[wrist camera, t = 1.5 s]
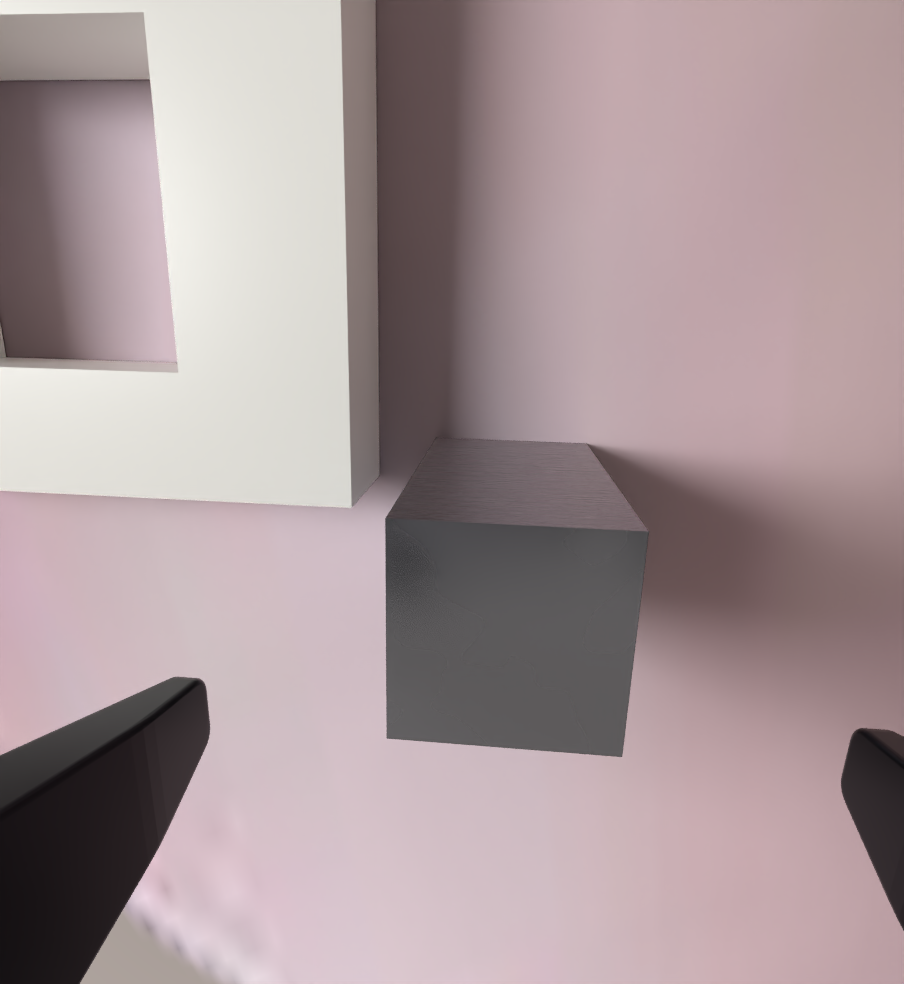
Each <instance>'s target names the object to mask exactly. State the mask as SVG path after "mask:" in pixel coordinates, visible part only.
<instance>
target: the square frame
mask: <svg viewBox="0 0 904 984" xmlns="http://www.w3.org/2000/svg"><path fill="white" fill-rule="evenodd" d="M138 79H150V84H151V94H152V105H153V115H154V125H155V136H156V146H157V156H158V167H159V177H160V188H161V198H162V208H163V219H164V229H165V239H166V250H167V260H168V271H169V281H170V291H171V302H172V312H173V323H174V333H175V343H176V354H177V363H174V362H141V361H109V360H77V359H44V358H12V357H6V353H5V347H4V342H3V336H2V330H1V324H0V491H16V492H37V493H57V494H77V495H97V496H118V497H138V498H158V499H178V500H199V501H219V502H239V503H260V504H280V505H300V506H321V507H341V508H352V507H353V506H354V505H355V503H356V502H357V501H358V500H359V499H360V498H361V496H362V495H363V494H364V493H365V492H366V491H367V489H368V488H369V487H370V486H371V485H372V484H373V482H374V481H375V480H376V479H377V478H378V477H379V476H380V469H379V348H378V227H377V106H376V0H0V80H138Z"/></svg>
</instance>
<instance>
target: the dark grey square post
mask: <svg viewBox="0 0 904 984" xmlns="http://www.w3.org/2000/svg"><path fill="white" fill-rule="evenodd" d="M385 525H386V696H387V738H388V739H401V740H414V741H426V742H439V743H452V744H464V745H477V746H490V747H502V748H515V749H528V750H540V751H553V752H566V753H579V754H591V755H604V756H617V757H622V754H623V745H624V737H625V728H626V720H627V711H628V703H629V695H630V686H631V678H632V669H633V661H634V653H635V644H636V636H637V627H638V619H639V610H640V602H641V594H642V585H643V577H644V568H645V560H646V552H647V543H648V535H649V531H648V530H647V528H646V527H645V525H644V524H643V523H642V521H641V520H640V518H639V517H638V515H637V514H636V513H635V511H634V510H633V508H632V507H631V506H630V504H629V503H628V501H627V500H626V498H625V497H624V496H623V494H622V493H621V491H620V490H619V489H618V487H617V486H616V484H615V483H614V482H613V480H612V479H611V477H610V476H609V474H608V473H607V472H606V470H605V469H604V467H603V466H602V465H601V463H600V462H599V460H598V459H597V457H596V456H595V455H594V453H593V452H592V450H591V449H590V448H589V446H588V445H587V444H585V443H560V442H535V441H509V440H484V439H459V438H436V439H435V441H434V442H433V444H432V445H431V447H430V449H429V450H428V452H427V453H426V455H425V457H424V458H423V460H422V461H421V463H420V464H419V466H418V468H417V469H416V471H415V472H414V474H413V476H412V477H411V479H410V480H409V482H408V483H407V485H406V487H405V488H404V490H403V491H402V493H401V495H400V496H399V498H398V499H397V501H396V502H395V504H394V506H393V507H392V509H391V510H390V512H389V514H388V515H387V517H386V518H385Z"/></svg>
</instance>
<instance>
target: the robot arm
mask: <svg viewBox="0 0 904 984" xmlns="http://www.w3.org/2000/svg"><path fill="white" fill-rule="evenodd" d="M209 735H210V721H209V711H208V701H207V691H206V686H205V683H204V682H203V681H202V680H201V679H199V678H187V677H173V678H170V679H168V680H166V681H164V682H161V683H159V684H157V685H155V686H153V687H150V688H148V689H146V690H144V691H142V692H139V693H137V694H135V695H133V696H131V697H128V698H126V699H124V700H122V701H119V702H117V703H115V704H113V705H111V706H108V707H106V708H104V709H102V710H100V711H97V712H95V713H93V714H91V715H88V716H86V717H84V718H82V719H80V720H77V721H75V722H73V723H71V724H69V725H66V726H64V727H62V728H60V729H58V730H55V731H53V732H51V733H49V734H46V735H44V736H42V737H40V738H38V739H35V740H33V741H31V742H29V743H27V744H24V745H22V746H20V747H18V748H16V749H13V750H11V751H9V752H7V753H4V754H2V755H0V984H80V982H81V980H82V979H83V977H84V975H85V974H86V972H87V970H88V969H89V967H90V965H91V964H92V962H93V960H94V958H95V957H96V955H97V953H98V952H99V950H100V948H101V946H102V945H103V943H104V941H105V940H106V938H107V936H108V934H109V932H110V931H111V929H112V928H113V926H114V924H115V922H116V921H117V919H118V917H119V916H120V914H121V912H122V910H123V909H124V907H125V905H126V904H127V902H128V900H129V898H130V897H131V895H132V893H133V892H134V890H135V888H136V886H137V885H138V883H139V881H140V880H141V878H142V876H143V874H144V873H145V871H146V869H147V868H148V866H149V864H150V862H151V861H152V859H153V857H154V855H155V853H156V852H157V850H158V848H159V846H160V844H161V842H162V840H163V838H164V836H165V834H166V832H167V830H168V828H169V826H170V824H171V821H172V819H173V817H174V815H175V813H176V811H177V808H178V806H179V804H180V802H181V800H182V798H183V795H184V793H185V791H186V789H187V787H188V785H189V782H190V780H191V778H192V776H193V774H194V772H195V769H196V767H197V765H198V763H199V761H200V759H201V756H202V754H203V752H204V750H205V748H206V745H207V743H208V739H209ZM841 789H842V794H843V798H844V800H845V803H846V805H847V807H848V810H849V812H850V814H851V816H852V819H853V821H854V823H855V825H856V828H857V830H858V832H859V834H860V837H861V839H862V841H863V843H864V846H865V848H866V850H867V852H868V855H869V857H870V859H871V861H872V864H873V866H874V868H875V871H876V873H877V875H878V877H879V880H880V882H881V884H882V886H883V889H884V891H885V893H886V895H887V898H888V900H889V902H890V904H891V906H892V908H893V910H894V912H895V914H896V917H897V919H898V921H899V923H900V924H901V926H902V928H903V930H904V737H903V736H901V735H899V734H897V733H895V732H893V731H890V730H881V729H867V728H860V729H858V730H856V731H855V732H854V733H853V734H852V737H851V740H850V744H849V748H848V752H847V756H846V761H845V765H844V769H843V773H842V778H841Z"/></svg>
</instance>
